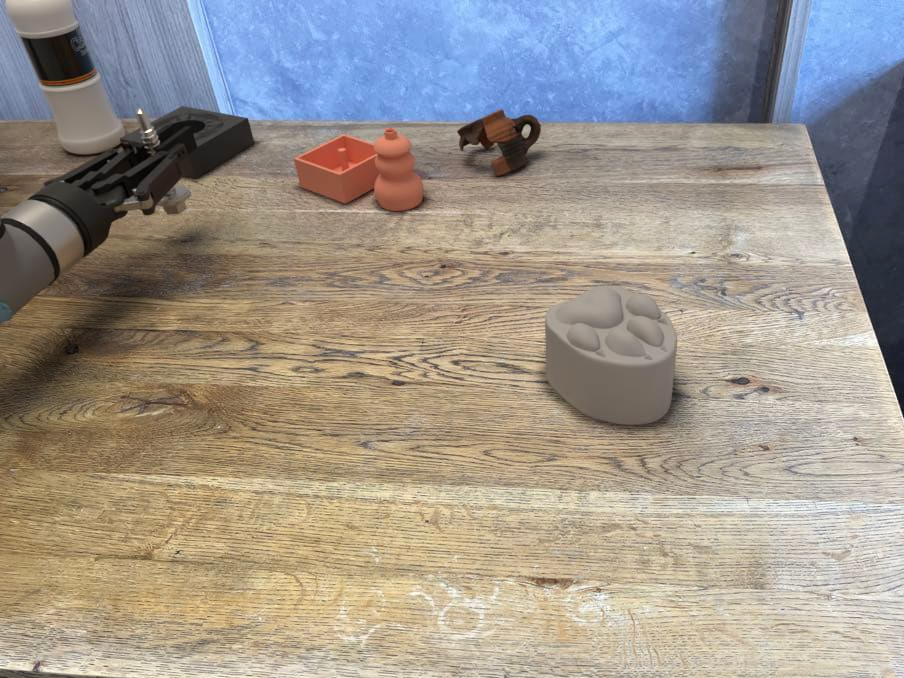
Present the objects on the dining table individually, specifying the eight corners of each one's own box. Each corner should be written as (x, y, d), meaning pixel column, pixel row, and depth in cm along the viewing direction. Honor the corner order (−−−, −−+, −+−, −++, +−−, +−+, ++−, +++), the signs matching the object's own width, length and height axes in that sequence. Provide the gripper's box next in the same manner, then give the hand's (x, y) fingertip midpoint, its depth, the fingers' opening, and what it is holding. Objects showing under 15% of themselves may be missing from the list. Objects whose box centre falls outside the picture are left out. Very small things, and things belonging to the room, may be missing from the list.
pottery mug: (480, 186, 114) (454, 129, 112) (472, 187, 123) (448, 134, 121) (557, 150, 115) (533, 93, 113) (543, 153, 124) (521, 100, 122)
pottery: (300, 186, 115) (283, 118, 108) (349, 161, 120) (336, 95, 114) (393, 221, 107) (382, 150, 100) (441, 193, 112) (433, 123, 106)
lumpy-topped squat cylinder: (610, 334, 87) (612, 264, 81) (698, 395, 79) (708, 323, 74) (532, 373, 83) (529, 302, 77) (618, 443, 75) (621, 370, 69)
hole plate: (129, 164, 122) (119, 138, 119) (190, 130, 130) (182, 105, 128) (196, 179, 117) (187, 152, 115) (254, 143, 126) (248, 117, 124)
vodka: (59, 141, 129) (-35, -76, 109) (120, 126, 132) (40, -86, 112) (68, 162, 123) (-30, -63, 103) (132, 147, 126) (49, -73, 106)
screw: (161, 223, 100) (150, 208, 103) (200, 211, 102) (188, 196, 105) (122, 119, 91) (111, 106, 94) (166, 109, 93) (154, 96, 96)
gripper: (10, 253, 89) (140, 159, 106) (129, 269, 86) (244, 169, 103) (-23, 190, 84) (119, 101, 101) (102, 205, 81) (227, 111, 98)
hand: (182, 136), depth 102 cm, fingers closed on screw, 2 cm apart
